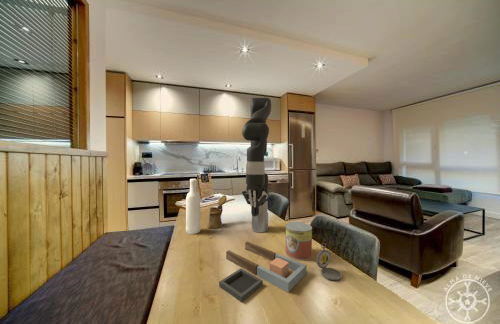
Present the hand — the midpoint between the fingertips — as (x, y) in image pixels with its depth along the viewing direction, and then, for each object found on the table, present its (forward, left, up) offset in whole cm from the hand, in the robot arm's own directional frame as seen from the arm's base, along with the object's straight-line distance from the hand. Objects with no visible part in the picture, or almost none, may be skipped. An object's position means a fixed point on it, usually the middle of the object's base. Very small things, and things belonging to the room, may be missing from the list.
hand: (254, 215), depth 74 cm
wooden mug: (-16, -44, -19) cm, 50 cm away
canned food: (-18, +10, -19) cm, 28 cm away
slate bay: (0, +12, -19) cm, 22 cm away
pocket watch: (-12, +25, -19) cm, 34 cm away
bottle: (0, -46, -19) cm, 50 cm away
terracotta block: (0, +12, -19) cm, 22 cm away
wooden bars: (0, -2, -19) cm, 19 cm away
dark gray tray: (+14, +6, -19) cm, 24 cm away
